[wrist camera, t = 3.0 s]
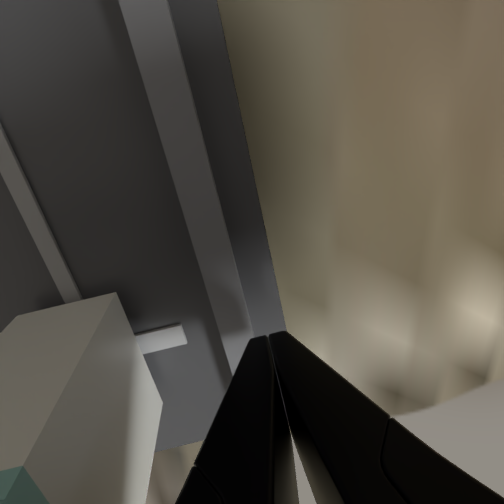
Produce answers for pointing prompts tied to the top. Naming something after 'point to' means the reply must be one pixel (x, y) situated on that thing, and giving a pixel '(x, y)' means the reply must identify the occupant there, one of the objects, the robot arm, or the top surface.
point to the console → (134, 188)
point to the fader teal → (75, 407)
